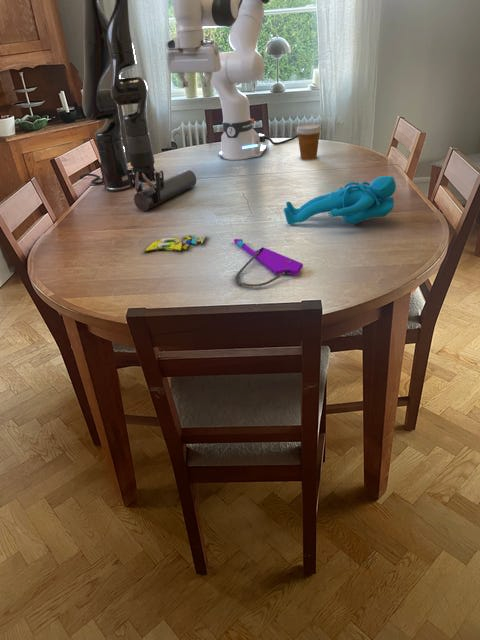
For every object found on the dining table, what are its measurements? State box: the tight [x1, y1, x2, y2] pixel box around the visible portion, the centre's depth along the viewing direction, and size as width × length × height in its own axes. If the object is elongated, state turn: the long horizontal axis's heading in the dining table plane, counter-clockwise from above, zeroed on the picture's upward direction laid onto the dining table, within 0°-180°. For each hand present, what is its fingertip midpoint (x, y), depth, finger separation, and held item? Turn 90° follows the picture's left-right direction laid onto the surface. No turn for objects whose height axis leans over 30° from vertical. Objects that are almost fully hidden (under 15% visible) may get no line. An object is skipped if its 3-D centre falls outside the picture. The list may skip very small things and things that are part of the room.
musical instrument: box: [233, 238, 304, 287], centre depth 115 cm, size 24×2×20 cm
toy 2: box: [283, 175, 397, 226], centre depth 132 cm, size 17×11×30 cm
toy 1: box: [144, 234, 207, 254], centre depth 130 cm, size 10×1×15 cm
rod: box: [133, 169, 197, 212], centre depth 163 cm, size 26×6×6 cm, turn 148°
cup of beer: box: [296, 123, 322, 161], centre depth 190 cm, size 10×10×12 cm
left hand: (149, 201), depth 157 cm, fingers closed on rod, 6 cm apart
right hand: (196, 87), depth 166 cm, fingers open, 8 cm apart
